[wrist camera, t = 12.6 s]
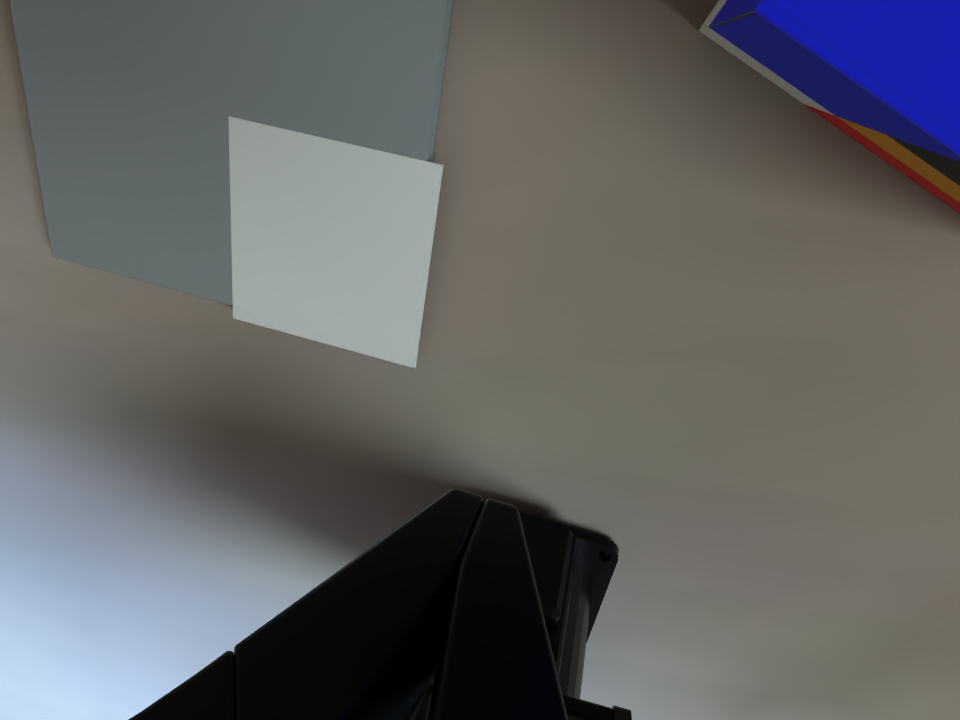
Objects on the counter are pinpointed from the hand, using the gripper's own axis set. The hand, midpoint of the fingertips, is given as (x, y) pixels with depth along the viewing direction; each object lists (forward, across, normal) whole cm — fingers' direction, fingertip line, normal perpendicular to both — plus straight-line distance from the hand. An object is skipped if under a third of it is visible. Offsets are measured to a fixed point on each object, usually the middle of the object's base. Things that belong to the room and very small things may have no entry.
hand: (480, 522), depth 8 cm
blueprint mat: (+13, +12, -4) cm, 18 cm away
